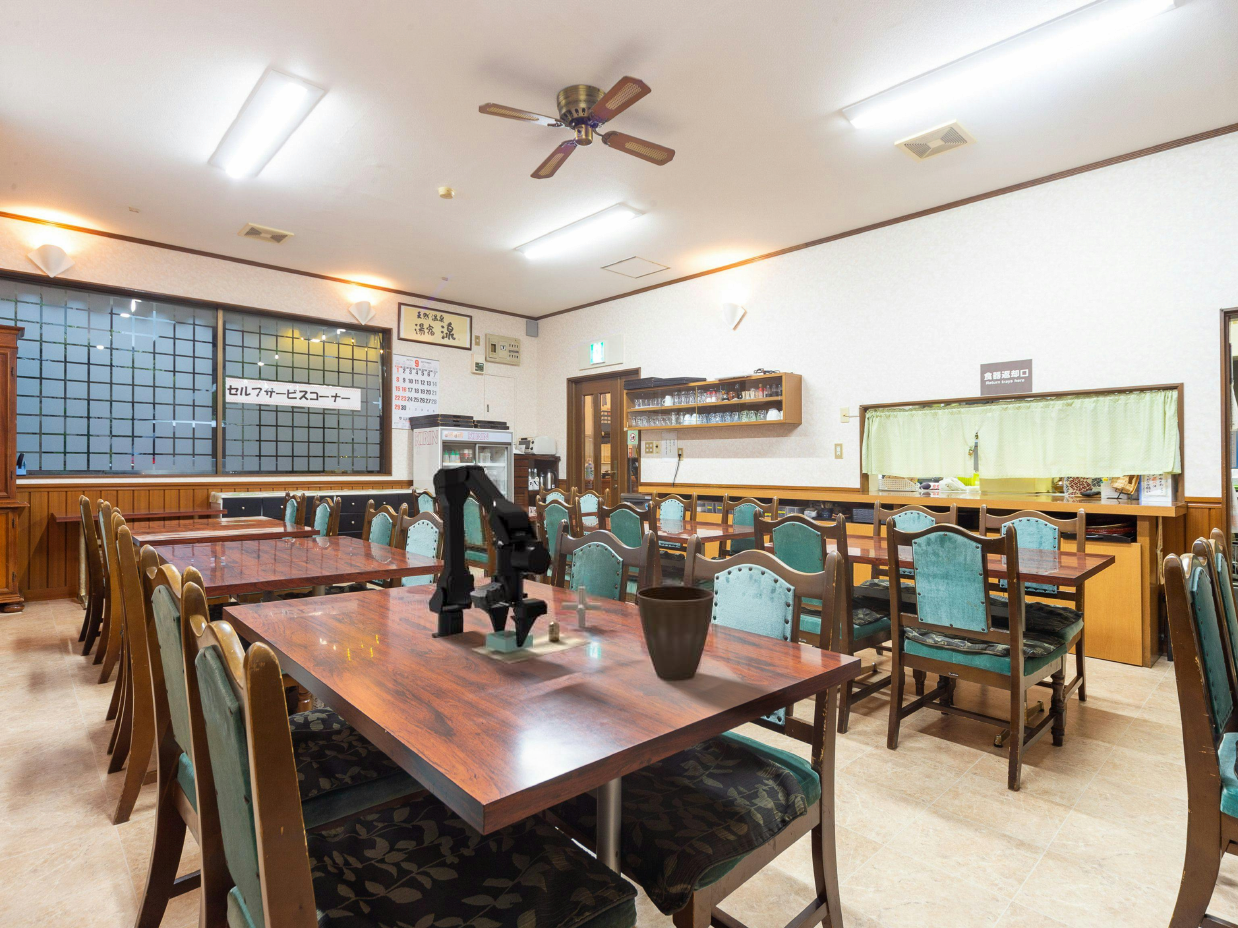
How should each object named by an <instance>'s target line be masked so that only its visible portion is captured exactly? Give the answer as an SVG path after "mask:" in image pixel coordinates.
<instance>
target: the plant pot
mask: <svg viewBox="0 0 1238 928" xmlns="http://www.w3.org/2000/svg"><path fill="white" fill-rule="evenodd" d="M636 598H637V604H638V610H639V611H638V612H639V618H640V622H641V628H642V631H643V636H644V639H645V644H646V647H647V650H648V655H649V657H650V660H651V664H652V666H653V669H654V671H655V674H656V676H657V677H658V678H660V679H662V680H666V681H672V682H680V681H682V682H683V681H687V680H691V679H692V678H694V677H695V675H696V673H697V671H698V667H699V665H700V662H701V660H702V659H701V658H702V656H703V653H704V649H705V645H706V641H707V638H708V634H709V629H710V625H711V624H710V623H711V618H712V612H713V605H714V598H715V593H714V592H713V591H712V590H709V589H705V588H701V587H695V586H684V585H663V586H662V585H661V586H651V587H647V588H642V589H640V590H638V591H637V592H636Z"/></svg>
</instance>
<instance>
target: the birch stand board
mask: <svg viewBox="0 0 1238 928" xmlns="http://www.w3.org/2000/svg"><path fill="white" fill-rule="evenodd" d="M513 636H515V634H514V632H512V631H507V632H506V633H505V634H504V637H506V638H508V637H513ZM589 644H592V642H590V641H588V640H587V641H586V640H583V639H580V638H576V637H573V636H570V635H566V634H563V633H560V632H559V641H558V642H549V631H547V632H541V633H537V634H533V647H528V648H524V649H520V650H516V651H511V652H507V653H504V652H501V651H498V650H496V649H493V648H490V647H487V646H486V645H482V646H477V647H473V648H471V650H472V651H475V652H478V653H480V654H482V655H485V656H488V657H490V658H493V659H495V660H498V661H501V662H503V663H506V664H512V663H517V662H521V661H524V660H529V659H533V658H536V657H537V658H538V657H540V656H541V657H542V656H545V655H550V654H553V653H557V652H561V651H567V650H569V649H574V648H578V647H581V646H586V645H589Z"/></svg>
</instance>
